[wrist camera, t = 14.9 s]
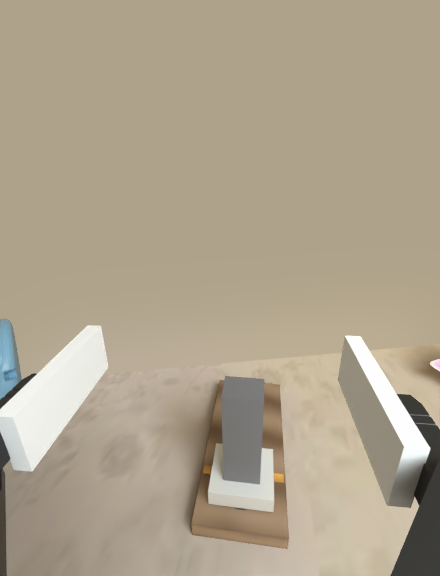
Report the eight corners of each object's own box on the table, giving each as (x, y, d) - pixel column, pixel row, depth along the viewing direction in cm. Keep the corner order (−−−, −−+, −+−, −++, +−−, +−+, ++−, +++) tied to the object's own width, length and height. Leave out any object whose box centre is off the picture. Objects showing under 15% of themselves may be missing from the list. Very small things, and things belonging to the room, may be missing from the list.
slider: (273, 512, 32) (281, 415, 26) (208, 503, 33) (202, 408, 27) (272, 460, 38) (278, 370, 32) (216, 454, 38) (213, 365, 33)
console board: (287, 548, 31) (288, 537, 30) (192, 534, 32) (191, 523, 32) (278, 393, 51) (279, 384, 50) (220, 389, 52) (219, 379, 51)
